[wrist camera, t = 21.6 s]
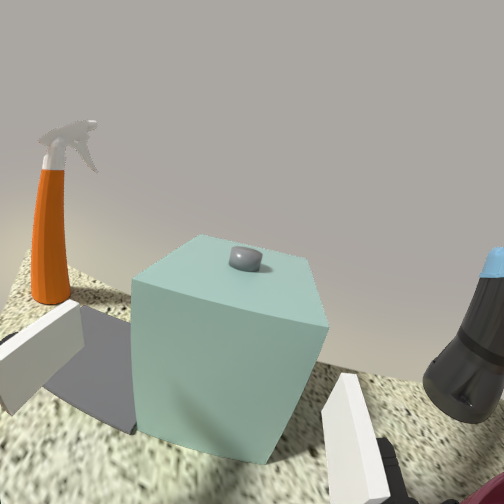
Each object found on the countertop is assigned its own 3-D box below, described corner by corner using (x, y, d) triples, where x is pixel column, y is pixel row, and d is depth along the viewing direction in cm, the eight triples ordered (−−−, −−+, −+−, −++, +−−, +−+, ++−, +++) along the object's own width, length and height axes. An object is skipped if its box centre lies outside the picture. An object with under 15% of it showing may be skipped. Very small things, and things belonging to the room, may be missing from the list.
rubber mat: (183, 343, 33) (184, 340, 33) (129, 434, 17) (129, 432, 17) (84, 307, 33) (84, 304, 33) (10, 362, 18) (9, 359, 18)
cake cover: (272, 370, 31) (309, 247, 27) (265, 464, 17) (336, 308, 14) (184, 348, 32) (202, 222, 28) (137, 430, 18) (133, 258, 14)
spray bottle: (96, 298, 37) (114, 120, 30) (34, 307, 28) (42, 111, 22) (84, 280, 41) (100, 124, 34) (29, 286, 33) (39, 118, 26)
